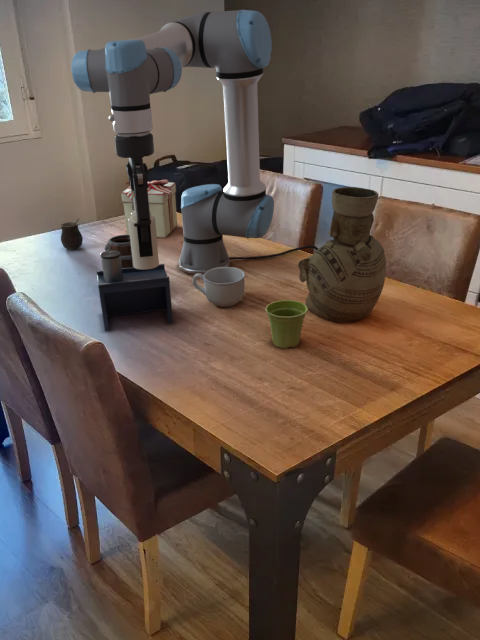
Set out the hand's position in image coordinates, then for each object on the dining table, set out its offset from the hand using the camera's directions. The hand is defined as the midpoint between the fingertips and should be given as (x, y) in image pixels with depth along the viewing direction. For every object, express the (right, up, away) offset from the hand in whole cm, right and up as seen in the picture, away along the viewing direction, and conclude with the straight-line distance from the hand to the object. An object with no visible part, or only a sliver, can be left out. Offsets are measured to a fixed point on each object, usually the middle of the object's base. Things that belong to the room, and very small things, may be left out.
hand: (144, 251), depth 135 cm
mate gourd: (-32, +22, +77) cm, 86 cm away
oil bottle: (0, -3, +2) cm, 3 cm away
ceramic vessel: (+47, -9, +24) cm, 54 cm away
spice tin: (-10, -2, +20) cm, 22 cm away
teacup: (+17, -5, +34) cm, 38 cm away
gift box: (-6, +31, +88) cm, 93 cm away
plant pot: (+32, -18, +12) cm, 38 cm away
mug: (-10, +1, +44) cm, 45 cm away
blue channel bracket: (-5, -10, +26) cm, 29 cm away
